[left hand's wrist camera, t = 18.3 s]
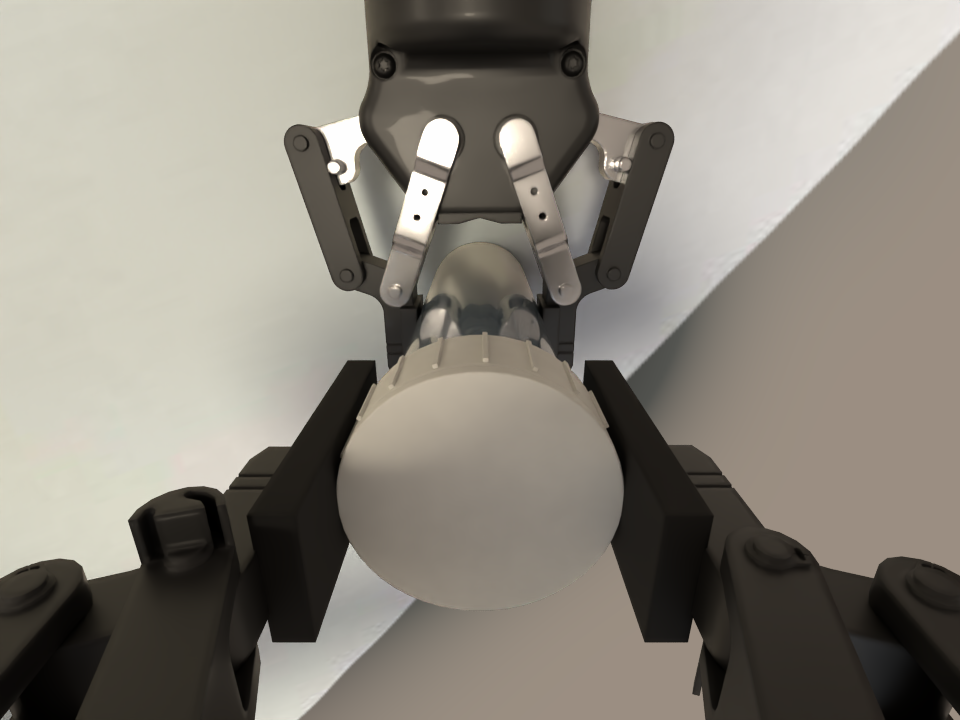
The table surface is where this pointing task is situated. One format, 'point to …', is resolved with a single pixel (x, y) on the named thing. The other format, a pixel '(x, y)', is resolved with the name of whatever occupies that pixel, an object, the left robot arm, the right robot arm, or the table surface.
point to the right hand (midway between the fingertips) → (481, 381)
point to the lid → (480, 475)
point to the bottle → (480, 300)
